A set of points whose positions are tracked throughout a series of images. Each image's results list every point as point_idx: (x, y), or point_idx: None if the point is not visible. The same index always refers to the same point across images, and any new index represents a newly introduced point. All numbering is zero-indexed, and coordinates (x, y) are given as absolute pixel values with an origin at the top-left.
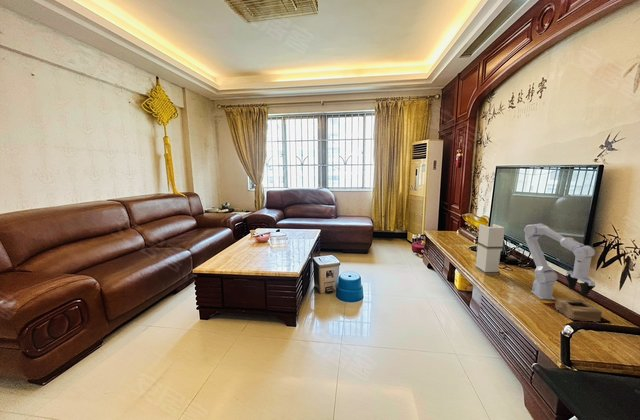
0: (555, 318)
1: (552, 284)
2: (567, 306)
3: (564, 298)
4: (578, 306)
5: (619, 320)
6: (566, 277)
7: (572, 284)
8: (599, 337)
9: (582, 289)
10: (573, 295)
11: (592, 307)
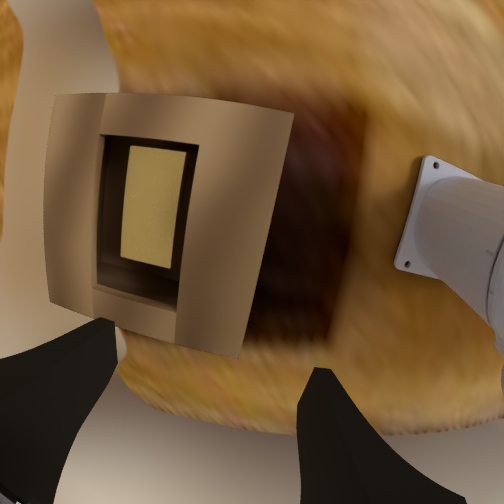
0: (150, 18)
1: (491, 294)
2: (123, 93)
3: (267, 204)
4: (159, 241)
5: (132, 380)
6: (434, 502)
7: (317, 444)
8: (5, 130)
9: (23, 360)
10: (388, 407)
11: (93, 301)
